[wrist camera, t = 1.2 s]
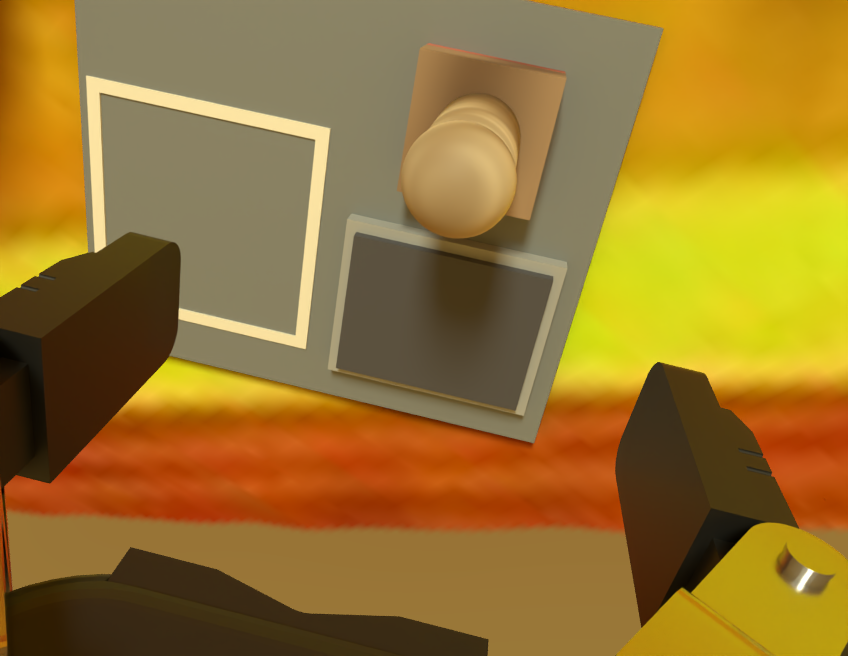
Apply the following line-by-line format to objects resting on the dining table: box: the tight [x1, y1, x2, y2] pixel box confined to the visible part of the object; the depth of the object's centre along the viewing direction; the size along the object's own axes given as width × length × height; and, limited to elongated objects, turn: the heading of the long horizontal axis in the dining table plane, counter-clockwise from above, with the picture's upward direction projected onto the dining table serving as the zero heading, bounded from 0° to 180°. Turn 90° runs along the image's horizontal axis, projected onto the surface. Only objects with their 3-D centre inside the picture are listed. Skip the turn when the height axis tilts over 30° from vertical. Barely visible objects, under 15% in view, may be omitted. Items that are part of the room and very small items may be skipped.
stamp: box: [397, 43, 567, 239], centre depth 25 cm, size 6×6×10 cm
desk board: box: [75, 0, 663, 443], centre depth 32 cm, size 24×20×2 cm
